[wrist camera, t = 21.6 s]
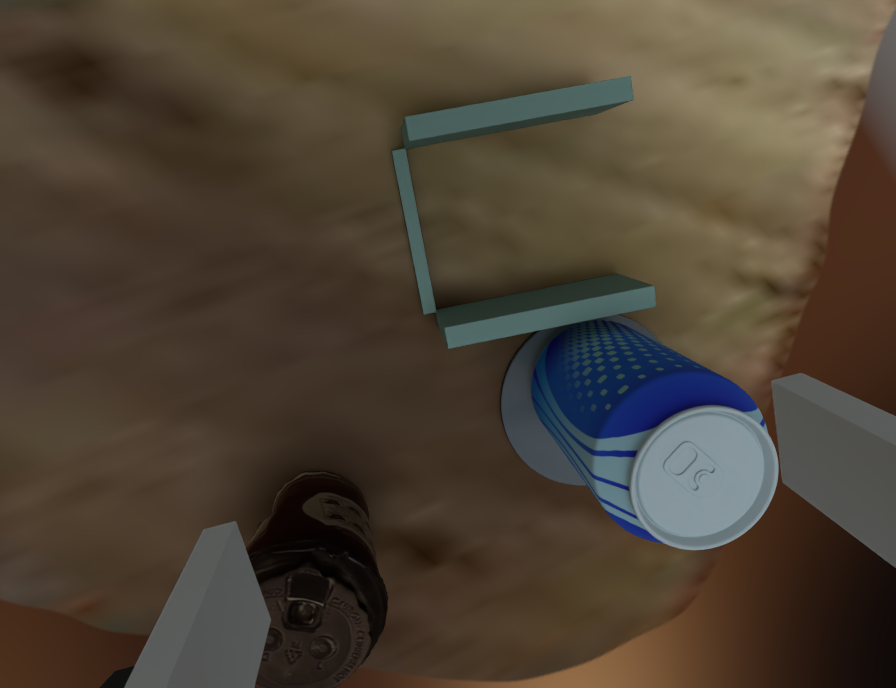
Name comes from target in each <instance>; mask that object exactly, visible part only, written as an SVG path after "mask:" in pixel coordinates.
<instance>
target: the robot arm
mask: <svg viewBox="0 0 896 688" xmlns="http://www.w3.org/2000/svg"><path fill="white" fill-rule="evenodd" d="M771 384H772V393H773V402H774V411H775V419H776V429H777V438H778V447H779V455H780V465H781V473H782V482H783V483H784V484H785V485H787V486H788V487H789V488H791V489H792V490H793V491H795V492H796V493H797V494H799V495H800V496H801V497H803V498H804V499H805V500H807V501H808V502H809V503H811V504H812V505H813V506H815V507H816V508H817V509H819V510H820V511H821V512H823V513H824V514H825V515H826V516H828V517H829V518H831V519H832V520H833V521H834V522H836V523H837V524H838V525H840V526H841V527H842V528H844V529H845V530H847V531H848V532H849V533H850V534H852V535H853V536H854V537H856V538H857V539H858V540H860V541H861V542H862V543H864V544H865V545H866V546H867V547H869V548H870V549H871V550H873V551H874V552H876V553H877V554H878V555H879V556H881V557H882V558H883V559H885V560H886V561H887V562H889V563H890V564H891V565H893V566H894V567H895V568H896V416H894V415H891V414H889V413H887V412H885V411H882V410H881V409H878V408H876V407H874V406H872V405H870V404H868V403H865V402H863V401H861V400H859V399H857V398H855V397H852V396H850V395H848V394H846V393H844V392H842V391H840V390H837V389H835V388H833V387H831V386H829V385H826V384H824V383H822V382H820V381H818V380H816V379H814V378H811V377H809V376H807V375H805V374H803V373H799V374H795V375H791V376H788V377H784V378H780V379H776V380H772V381H771ZM270 622H271V618H270V615H269V612H268V609H267V607H266V604H265V601H264V598H263V595H262V593H261V590H260V587H259V584H258V581H257V579H256V576H255V573H254V570H253V568H252V565H251V562H250V559H249V556H248V554H247V551H246V548H245V545H244V542H243V540H242V537H241V534H240V531H239V529H238V526H237V523H236V521H234V522H230V523H226V524H222V525H219V526H215V527H211V528H207V529H203V531H202V533H201V535H200V537H199V539H198V541H197V543H196V545H195V547H194V549H193V551H192V553H191V555H190V557H189V559H188V561H187V563H186V565H185V567H184V569H183V571H182V573H181V575H180V577H179V579H178V581H177V583H176V585H175V587H174V589H173V591H172V593H171V595H170V597H169V599H168V601H167V603H166V605H165V607H164V609H163V611H162V613H161V615H160V617H159V619H158V621H157V623H156V625H155V627H154V629H153V631H152V633H151V635H150V637H149V639H148V641H147V643H146V645H145V647H144V649H143V651H142V653H141V655H140V657H139V659H138V661H137V663H136V665H135V666H132V667H129V668H125V669H121V670H117V671H115V672H114V673H113V674H112V675H111V676H110V677H109V678H108V679H107V680H106V681H105V683H104V684H103V685H102V686H101V687H100V688H254V687H255V683H256V678H257V674H258V670H259V666H260V662H261V658H262V654H263V650H264V646H265V642H266V638H267V634H268V630H269V626H270Z"/></svg>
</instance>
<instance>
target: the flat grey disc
mask: <svg viewBox="0 0 896 688" xmlns="http://www.w3.org/2000/svg"><path fill="white" fill-rule="evenodd" d="M593 320H606V321H613V322H617V323H620V324H623V325H625V326H627V327H629V328H631V329H633V330H635V331H637V332H639V333H641V334H643V335H645V336H647V337H648V338H650V339H652V340H654V341H656V342H658V343H660V344H662V343H661V342H660V341H659V340H658V339H657V338H656V337H655V336H654V334H652V333H651V332H650V331H649V330H647V329H646V328H645V327H643V326H642V325H640V324H639V323H637V322H635V321H633V320H631V319H629V318H626V317H624V316H622V315H618V314H617V315H612V316H607V317H602V318H597V319H592V320H587V321H593ZM587 321H582V322H578V323H573V324H568V325H563V326H558V327H553V328H548V329H543V330H538V331H536V332H535V333H533V334H532V335H531V336H530V337H529V338H528V339H527V340H526V341H525V342H524V343H523V344H522V346H521V347H520V348H519V349H518V351H517V352H516V354H515V355H514V357H513V359H512V360H511V362H510V364H509V366H508V369H507V371H506V373H505V377H504V380H503V383H502V389H501V397H500V409H501V418H502V422H503V426H504V429H505V432H506V434H507V437H508V439H509V441H510V442H511V444H512V446H513V448H514V449H515V451H516V452H517V453H518V455H519V456H520V457H521V459H522V460H523V461H524V462H525V463H526V464H527V465H528V466H530V467H531V468H532V469H534V470H535V471H536V472H538V473H539V474H541V475H543V476H545V477H547V478H549V479H552V480H554V481H557V482H561V483H565V484H570V485H587V484H586V483H585V482H584V480H583V479H582V478H581V476H580V475H579V473H578V472H577V471H576V469H575V468H574V466H573V465H572V464H571V462H570V461H569V460H568V458H567V457H566V455H565V454H564V453H563V451H562V450H561V448H560V447H559V446H558V444H557V443H556V442H555V440H554V439H553V437H552V436H551V435H550V433H549V432H548V431H547V429H546V428H545V426H544V425H543V424H542V422H541V421H540V419H539V417H538V416H537V413H536V411H535V409H534V405H533V401H532V395H531V381H532V375H533V371H534V368H535V365H536V362H537V360H538V358H539V356H540V354H541V353H542V351H543V350H544V349H545V347H546V346H547V345H548V344H549V343H550V342H551V341H552V339H554V338H555V337H556V336H557V335H558V334H560V333H561V332H563V331H564V330H566V329H568V328H570V327H572V326H574V325H576V324H579V323H583V322H587Z"/></svg>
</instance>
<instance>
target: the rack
mask: <svg viewBox="0 0 896 688" xmlns="http://www.w3.org/2000/svg"><path fill="white" fill-rule="evenodd" d="M632 100H633V91H632V82H631V76H628V77H622V78H617V79H611V80H606V81H600V82H595V83H589V84H584V85H578V86H573V87H567V88H562V89H556V90H551V91H545V92H540V93H534V94H529V95H523V96H518V97H512V98H506V99H501V100H495V101H490V102H484V103H479V104H473V105H468V106H462V107H457V108H451V109H446V110H440V111H435V112H429V113H424V114H418V115H413V116H407V117H405V118H404V121H403V124H402V127H401V132H402V137H403V143H404V149H399V150H394V151H392V156H393V161H394V166H395V171H396V176H397V181H398V187H399V192H400V197H401V202H402V207H403V212H404V217H405V222H406V228H407V233H408V238H409V243H410V248H411V253H412V258H413V263H414V269H415V274H416V279H417V284H418V289H419V294H420V299H421V305H422V310H423V314H429V313H434V312H436V316H437V321H438V327H439V330H440V332H441V334H442V336H443V338H444V340H445V342H446V345H447V347H448V349H450V348H455V347H459V346H464V345H469V344H474V343H479V342H484V341H489V340H494V339H499V338H504V337H509V336H514V335H519V334H523V333H528V332H533V331H538V330H543V329H548V328H553V327H558V326H563V325H568V324H573V323H578V322H582V321H587V320H592V319H597V318H602V317H607V316H612V315H617V314H622V313H627V312H632V311H637V310H642V309H646V308H651V307H656V299H655V290H654V286H653V285H650V284H647V283H644V282H641V281H638V280H635V279H631V278H628V277H625V276H622V275H619V274H613V275H608V276H603V277H598V278H593V279H588V280H583V281H578V282H573V283H568V284H563V285H558V286H553V287H548V288H543V289H538V290H533V291H528V292H523V293H518V294H513V295H508V296H503V297H498V298H493V299H488V300H482V301H477V302H472V303H467V304H462V305H457V306H452V307H447V308H442V309H437V310H436V307H435V302H434V297H433V291H432V286H431V281H430V276H429V270H428V265H427V260H426V255H425V249H424V244H423V239H422V234H421V228H420V223H419V218H418V213H417V207H416V202H415V197H414V192H413V186H412V181H411V176H410V171H409V165H408V160H407V155H406V149H409V148H415V147H420V146H425V145H431V144H436V143H442V142H447V141H453V140H458V139H463V138H469V137H474V136H480V135H485V134H491V133H496V132H501V131H507V130H512V129H518V128H523V127H529V126H534V125H539V124H545V123H550V122H556V121H561V120H567V119H572V118H577V117H583V116H588V115H594V114H598V113H601V112H603V111H606V110H608V109H611V108H614V107H616V106H619V105H622V104H624V103H627V102H629V101H632Z"/></svg>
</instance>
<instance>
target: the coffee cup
mask: <svg viewBox="0 0 896 688" xmlns="http://www.w3.org/2000/svg"><path fill="white" fill-rule="evenodd" d="M246 551H247V554H248V556H249V559H250V562H251V565H252V568H253V570H254V573H255V576H256V579H257V581H258V584H259V587H260V590H261V593H262V595H263V598H264V601H265V604H266V607H267V609H268V612H269V615H270V618H271V622H270V626H269V630H268V634H267V638H266V642H265V646H264V650H263V654H262V658H261V662H260V666H259V670H258V674H257V678H256V684H258V685H260V686H263V687H266V688H335V687H337V686H339V685H340V684H341V683H342V682H343V681H345V680H346V679H348V678H349V677H350V676H351V675H352V674H353V673H354V672H355V671H356V669H357V668H358V667H359V666H360V665H361V664H362V663H363V662H364V661H365V660H366V658H367V657H368V656H369V654H370V652H371V650H372V649H373V647H374V646H375V644H376V643H377V640H378V638H379V636H380V634H381V633H382V631H383V629H384V627H385V620H386V614H387V609H388V596H387V591H386V587H385V584H384V583H383V582H384V581H383V579H382V578H381V577H380V574H379V571H378V568H377V563H376V553H375V549H374V545H373V538H372V533H371V528H370V523H369V513H368V509H367V505H366V503H365V500H364V498H363V495H362V494H361V492H360V491H359V490H358V489H357V488H356V487H355V486H354V485H353V484H352V483H350V482H349V481H347V480H345V479H343V478H342V477H339V476H336V475H332V474H329V473H326V472H314V473H312V472H309V473H308V472H305V473H301V474H299V475H298V476H297V477H295V478H294V479H293V480H292V481H290V482H287V483H286V484H285V485H284V487H283V488H282V490H280V491H279V492H278V493H277V497H276V499H275V501H274V504H273V513H272V514H271V515H270V516H269V517H268V518H267V519H265V520H264V521H263V522H261V523H260V524H259V526H258V528H257V532H256V533H255V535H254V536H253V537H252V539H251V540H250V541H249V543H248V545H247V547H246Z"/></svg>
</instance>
